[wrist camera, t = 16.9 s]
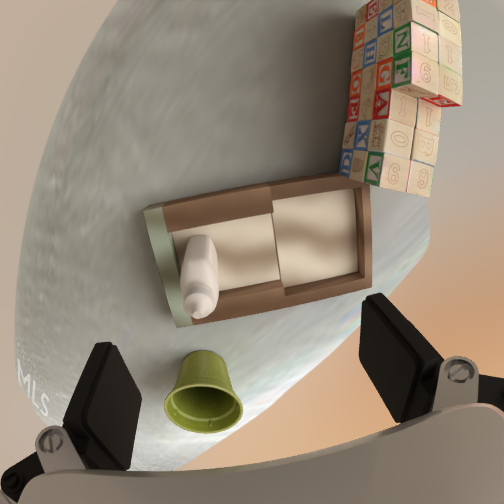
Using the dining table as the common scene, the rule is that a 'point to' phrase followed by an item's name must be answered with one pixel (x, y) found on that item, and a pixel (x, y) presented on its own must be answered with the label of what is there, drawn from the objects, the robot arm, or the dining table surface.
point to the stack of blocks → (401, 91)
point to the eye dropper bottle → (200, 277)
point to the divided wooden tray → (269, 243)
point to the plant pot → (203, 395)
